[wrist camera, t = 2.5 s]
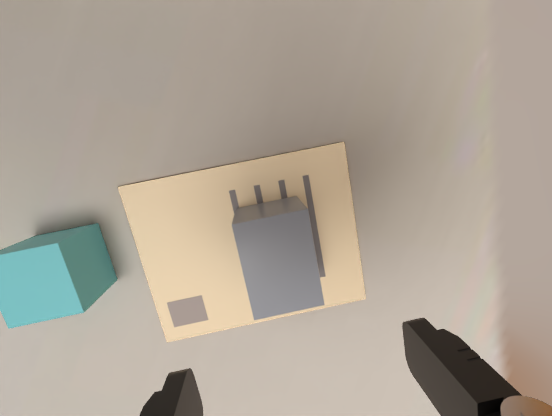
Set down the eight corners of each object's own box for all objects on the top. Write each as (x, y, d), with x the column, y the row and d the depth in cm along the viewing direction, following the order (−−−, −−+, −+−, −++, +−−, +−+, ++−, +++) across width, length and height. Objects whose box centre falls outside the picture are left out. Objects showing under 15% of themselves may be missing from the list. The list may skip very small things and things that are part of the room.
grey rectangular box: (236, 208, 23) (231, 224, 18) (296, 195, 24) (307, 208, 19) (253, 286, 25) (254, 320, 20) (310, 274, 25) (324, 305, 20)
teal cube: (35, 235, 23) (-23, 259, 18) (98, 222, 23) (57, 243, 18) (57, 291, 24) (8, 328, 19) (117, 279, 24) (83, 312, 19)
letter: (119, 186, 23) (117, 187, 22) (343, 141, 23) (344, 141, 23) (167, 340, 26) (166, 342, 25) (364, 297, 26) (366, 299, 26)
